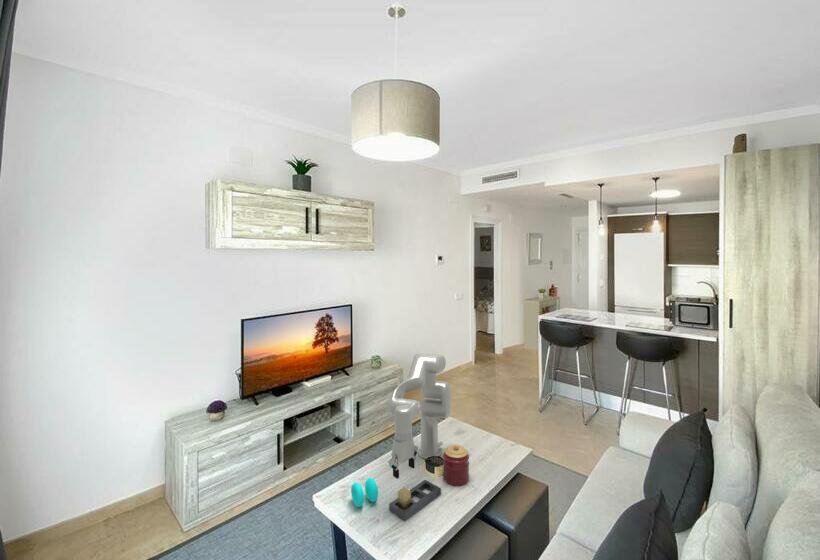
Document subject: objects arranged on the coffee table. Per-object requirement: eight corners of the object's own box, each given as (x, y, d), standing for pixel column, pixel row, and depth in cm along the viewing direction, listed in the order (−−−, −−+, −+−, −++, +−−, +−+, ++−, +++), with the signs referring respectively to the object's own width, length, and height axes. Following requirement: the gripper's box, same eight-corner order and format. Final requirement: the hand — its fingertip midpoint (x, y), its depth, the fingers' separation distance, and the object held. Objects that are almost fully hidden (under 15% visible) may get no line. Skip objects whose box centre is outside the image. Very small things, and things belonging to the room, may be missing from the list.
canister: (461, 468, 194) (461, 436, 193) (473, 483, 182) (473, 448, 181) (439, 473, 190) (438, 440, 189) (449, 489, 178) (449, 453, 177)
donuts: (379, 505, 167) (379, 484, 166) (358, 513, 162) (358, 491, 161) (370, 492, 176) (370, 472, 175) (350, 499, 171) (350, 479, 170)
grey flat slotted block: (425, 485, 181) (425, 479, 181) (441, 494, 174) (440, 488, 174) (389, 510, 163) (389, 503, 163) (405, 521, 157) (405, 514, 156)
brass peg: (404, 506, 166) (404, 487, 165) (410, 510, 163) (410, 491, 163) (397, 510, 163) (397, 491, 163) (404, 515, 161) (404, 495, 160)
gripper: (410, 425, 169) (411, 460, 171) (382, 439, 157) (383, 477, 158) (423, 430, 164) (423, 467, 166) (395, 445, 152) (395, 485, 153)
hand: (404, 472), depth 162 cm, fingers open, 9 cm apart
